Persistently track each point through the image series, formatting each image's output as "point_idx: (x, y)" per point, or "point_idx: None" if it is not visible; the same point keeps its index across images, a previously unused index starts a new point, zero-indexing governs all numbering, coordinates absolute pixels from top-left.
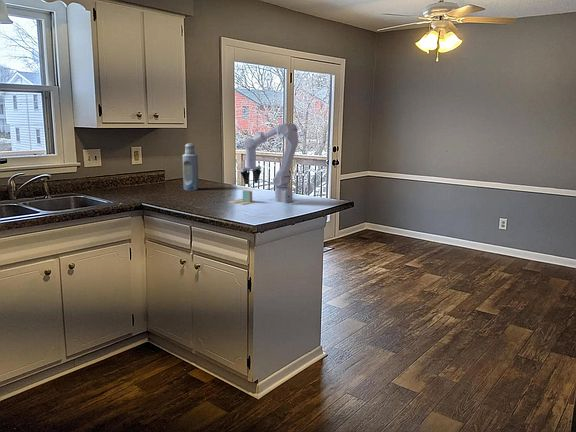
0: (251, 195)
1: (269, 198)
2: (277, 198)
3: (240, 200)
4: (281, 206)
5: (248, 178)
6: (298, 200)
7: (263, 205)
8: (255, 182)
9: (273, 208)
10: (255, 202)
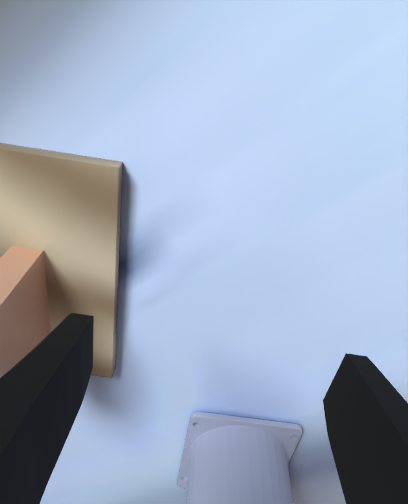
0: None
1: (376, 317)
2: (187, 479)
3: (21, 203)
4: (109, 488)
5: (38, 495)
6: None
7: None
8: (335, 380)
9: None
10: None
